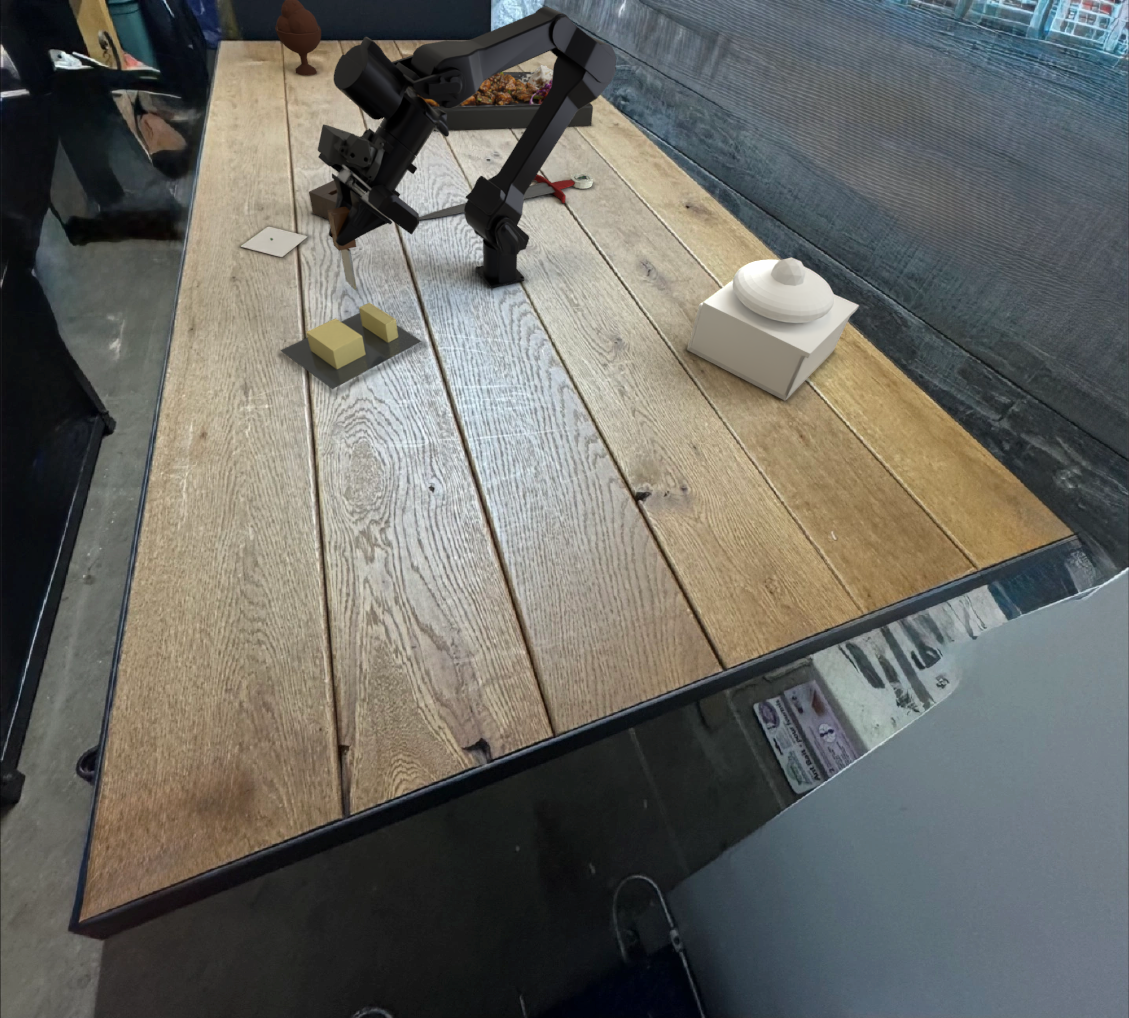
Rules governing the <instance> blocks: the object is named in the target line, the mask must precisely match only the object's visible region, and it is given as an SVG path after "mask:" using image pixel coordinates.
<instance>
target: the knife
mask: <svg viewBox="0 0 1129 1018" xmlns="http://www.w3.org/2000/svg"><path fill="white" fill-rule="evenodd" d="M349 212H350V210H349V209H348V208H347V207H340V208H335V209H330V210H328V216H329V220H328V221H329V226H330V227H329V229H330V228H331V233H332V237H331V238H332V245H333V246H334V247H335V248H336V250H338V251H339V252H340V255H341V260H342V267H343V272H344V279H345V282H346V283H347V284H348V285H349V286H350V287H351V288H352V289H353V290H355V291H356V290H357V283H356V276H355V270H354V263H353V256H352V249H353V248H356V247H357V242H356V241H357V240H356V239H355V240H353V241H351V242H350V243H348V244H346V245H344V246H340V245H339V244H337V243H336V239H337V236H338V234H339V232H340V230H341V228H342V226H343V224H344V222H345V220H346V218H347V216H348V214H349Z"/></svg>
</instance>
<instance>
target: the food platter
mask: <svg viewBox="0 0 1129 1018" xmlns="http://www.w3.org/2000/svg"><path fill="white" fill-rule="evenodd" d="M552 77H553V69H552V68H548V66H547V65H543V64H540V65H539V66H538V67H536V68H535V70H534V71H503V72H501V73H498V74H496V75H494V76H492V77H490V78H488V79H487V80H485V81H484V82H483V83H482V84H481V86H480V87H479V89H478V90H477V92H476V93H475V94H474V95H473V96H471V97H470V98H468V99H467V100H466V101H464V102H463V103H461V104H460V105H459V106H457V107H454V108H445V107H442V106H441V105H439V104H438V103H436V102H435V101H433V100H432V99H424V98H422V97H421V96H419V95H418V94H416V93H415V92H413V91H412V90H410V89H409V88H407V89H406V91H405V92H406V93H407V94H408V95H409V96H410V97H413V96H419V97H421V98H422V99H424V100H425V101H426V102H427V103H428V105H429V106H430V107H431V108H432V109H437V108H439V109H440V110H442V111H443V112H445V113H446V114H447V125H448V130H449V131H467V130H468V131H469V130H470V131H472V130H473V131H475V130H500V129H501V130H503V129H526V128H527V126H528V125H529V123H530V121H531V120H532V118H533V117H534V115H535V113H536V112H537V110H538V108H539V107H540V105H541V104H542V102H543V100H544V99H545V97H546V95H547V94H548V92H549V91H550V89H551V86H552ZM593 111H594V106H593V104H592V102H591V103H589V104H587V105H586V106H584V107H582V108H581V109H579V110H578V111H577V112H576V114H575V115H574V117H573V118H572V120H571V122H570V123H569V125H568V126H567V128H568V127H569V128H570V127H592V122H593V121H592V120H593ZM433 132H437V131H436V130H435V129H434V130H433Z"/></svg>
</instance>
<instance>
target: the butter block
mask: <svg viewBox="0 0 1129 1018" xmlns="http://www.w3.org/2000/svg"><path fill="white" fill-rule="evenodd" d="M305 333H306V338H308V341H309V345H310V349H311V351H312V352H314V353H315V354H316V355H318V356H319V357H320V358H322V359H323V360H325V361H326V362H327V363H329V364H330V365H332V366H333V367H334V368H336V369H339V368H341V367H343V366H345V365H347V364H348V363H350V362H352V361H354V360H356V359H358V358H360V357H362V356H364V355H365V349H364V343H363V338H362V336H361V335H360V334H358V333H357V332H355V331H354V330H352V329H351V328H349V327H348V326H346V325H345V324H343V323H342V322H341V320H339V319H337V318H333V319H331V320H328V321H326V322H324V323H322V324H320V325H317V326H316V327H314V328H312V329H309V330H308V331H306V332H305Z"/></svg>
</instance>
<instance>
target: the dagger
mask: <svg viewBox="0 0 1129 1018" xmlns="http://www.w3.org/2000/svg"><path fill="white" fill-rule="evenodd" d="M533 181H535V182H537V183H534V184H531V185H530V186H529V188H528V189H527V191H526V193H525V195H524V200H525V199H530V198H535V197H540V196H544V195H548V194H551V195H553V196H555V197H556V198H558V199H559V200H561V203H562V204H565V203H566V199H567V198H566V194H565V193H564V191H563V189H568V188H570V187H573V188H576V189H581V190H582V189H589V188H591V187H592V186H593V182H594V177H593V176H592V175H591V174H589V173H586V172H575V173H571V175H570V179H562V180H556V181H552V182H551V181H550V180H548V179H547V178H546V177H544V176H543V175H540V174H539V173H538V174H537V175H536V177H535V178H534V180H533ZM465 205H466V202H463V203H460V204H455V205H453V206H450V207H446V208H442V209H439V210H436V211H433V212H430V213H427V214H424V215H421V216H419V221H421V220H428V219H429V220H430V219H434V218H441V217H446V216H453V215H457V214H462V213H465V212H464V208H465Z"/></svg>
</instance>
